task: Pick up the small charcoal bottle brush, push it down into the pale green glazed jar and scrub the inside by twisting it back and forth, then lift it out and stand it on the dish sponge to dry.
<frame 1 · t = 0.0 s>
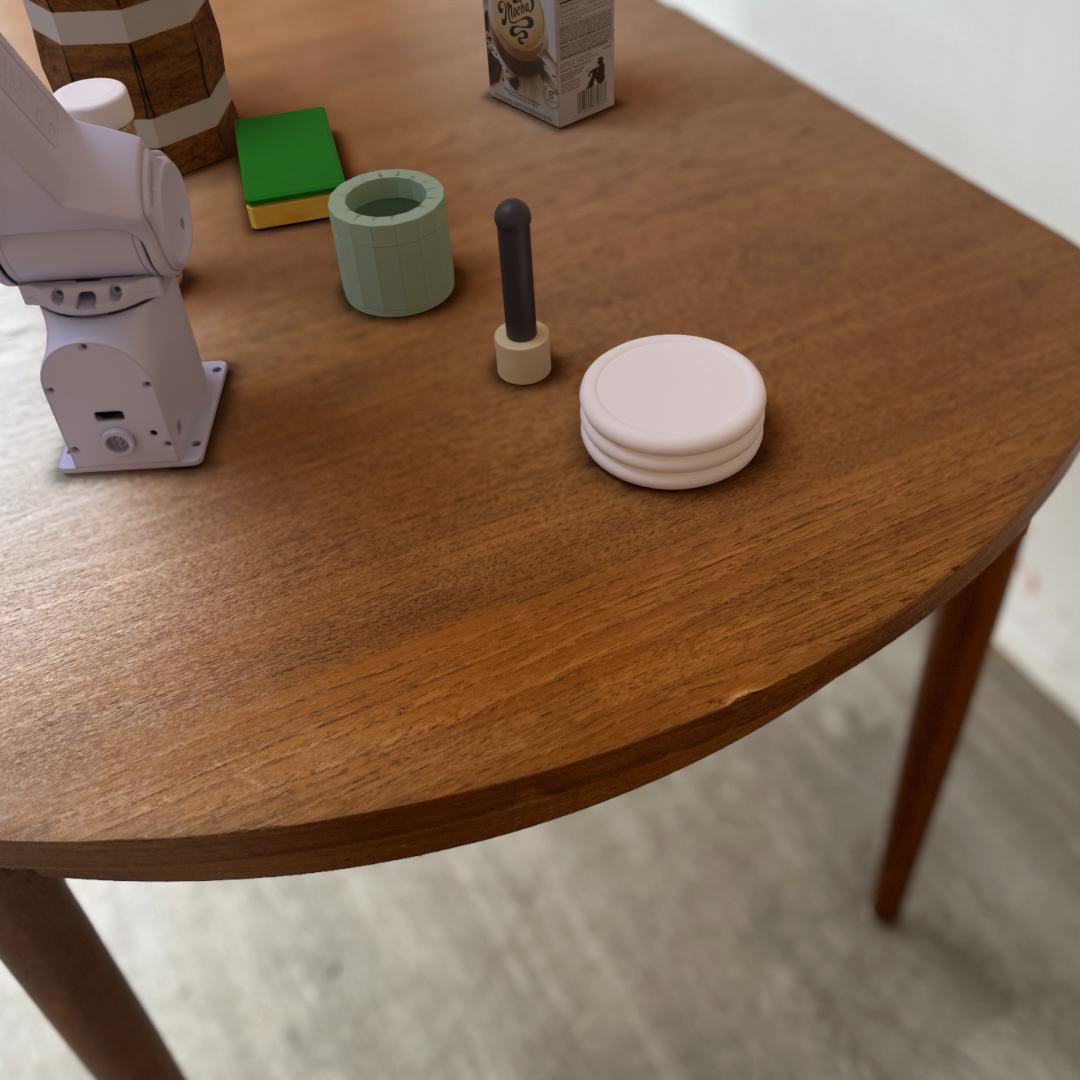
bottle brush: (524, 369, 71), on the table
jar: (400, 286, 78), on the table
sprinkles bottle: (150, 289, 80), on the table
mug: (155, 130, 98), on the table
coffee box: (552, 103, 98), on the table
dish sponge: (293, 182, 90), on the table
white stacked discs: (670, 437, 66), on the table
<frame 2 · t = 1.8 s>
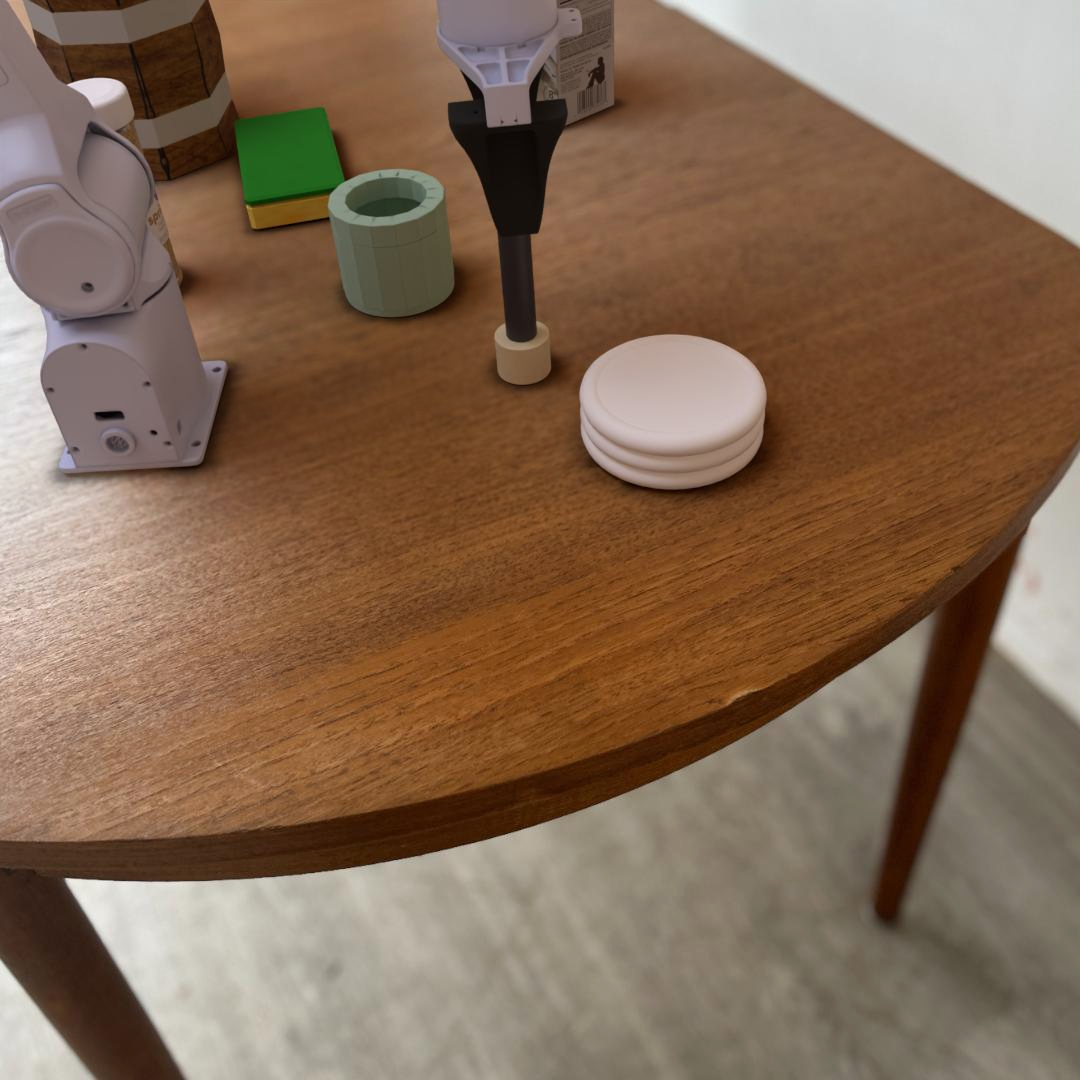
hand: (515, 196, 64), 11 cm above the table, tool pointing down, fingers open, 7 cm apart
nothing on the table moved.
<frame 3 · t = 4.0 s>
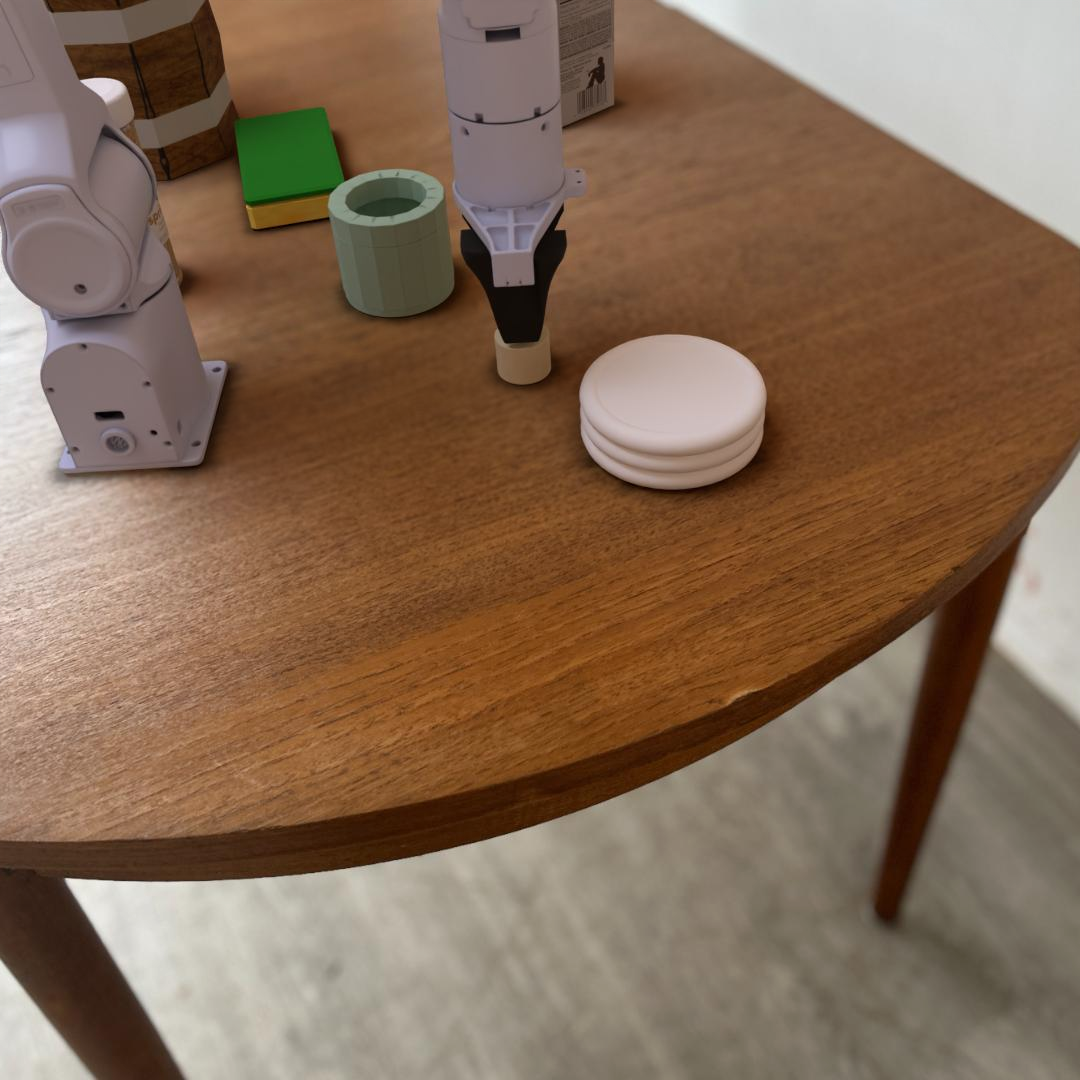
hand: (521, 328, 69), 3 cm above the table, tool pointing down, fingers closed on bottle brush, 2 cm apart
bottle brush: (524, 368, 71), on the table, touching gripper
everything else where it was.
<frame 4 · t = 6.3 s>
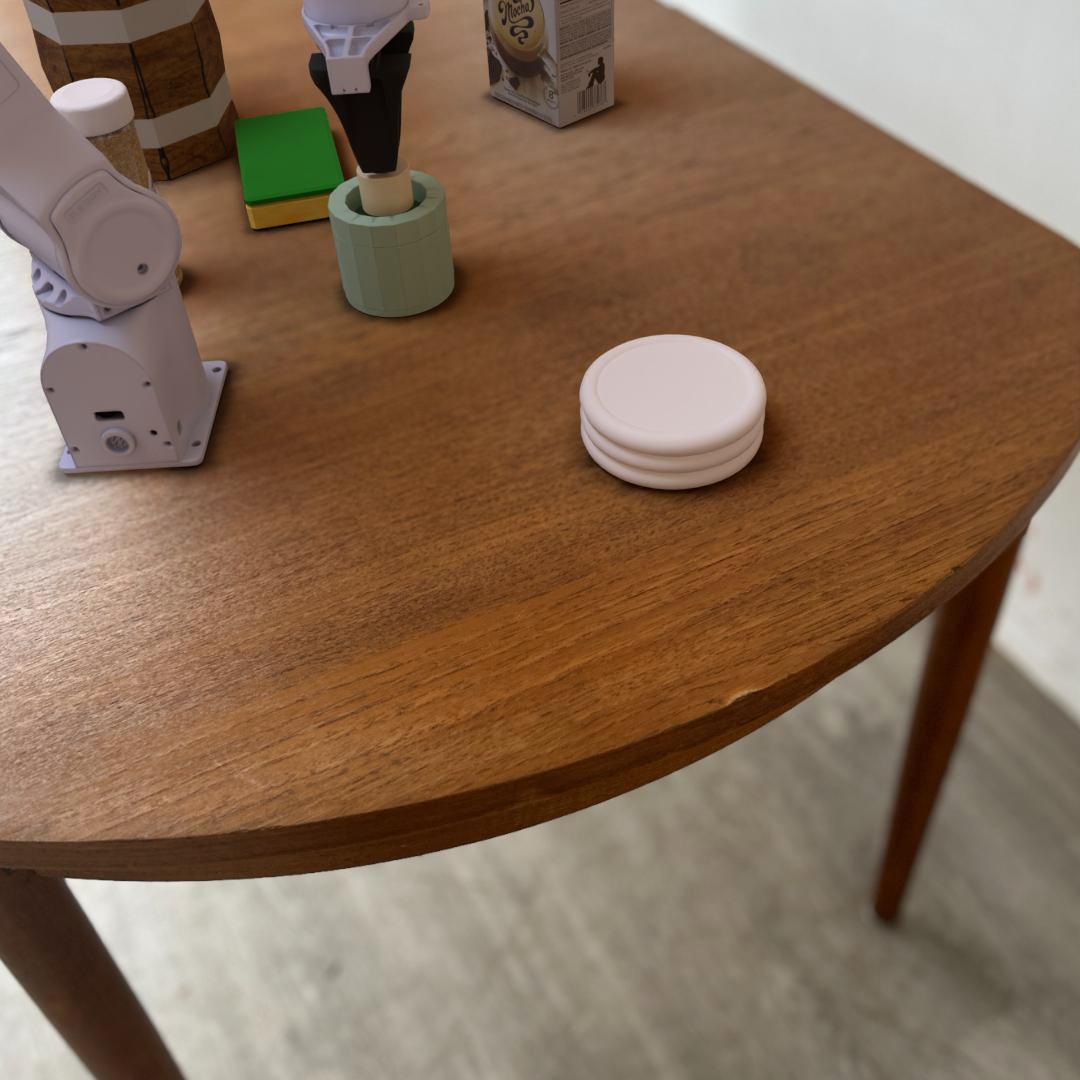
hand: (380, 160, 72), 9 cm above the table, tool pointing down, fingers closed on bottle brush
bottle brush: (388, 204, 74), point 6 cm above the table, touching gripper
everything else where it was.
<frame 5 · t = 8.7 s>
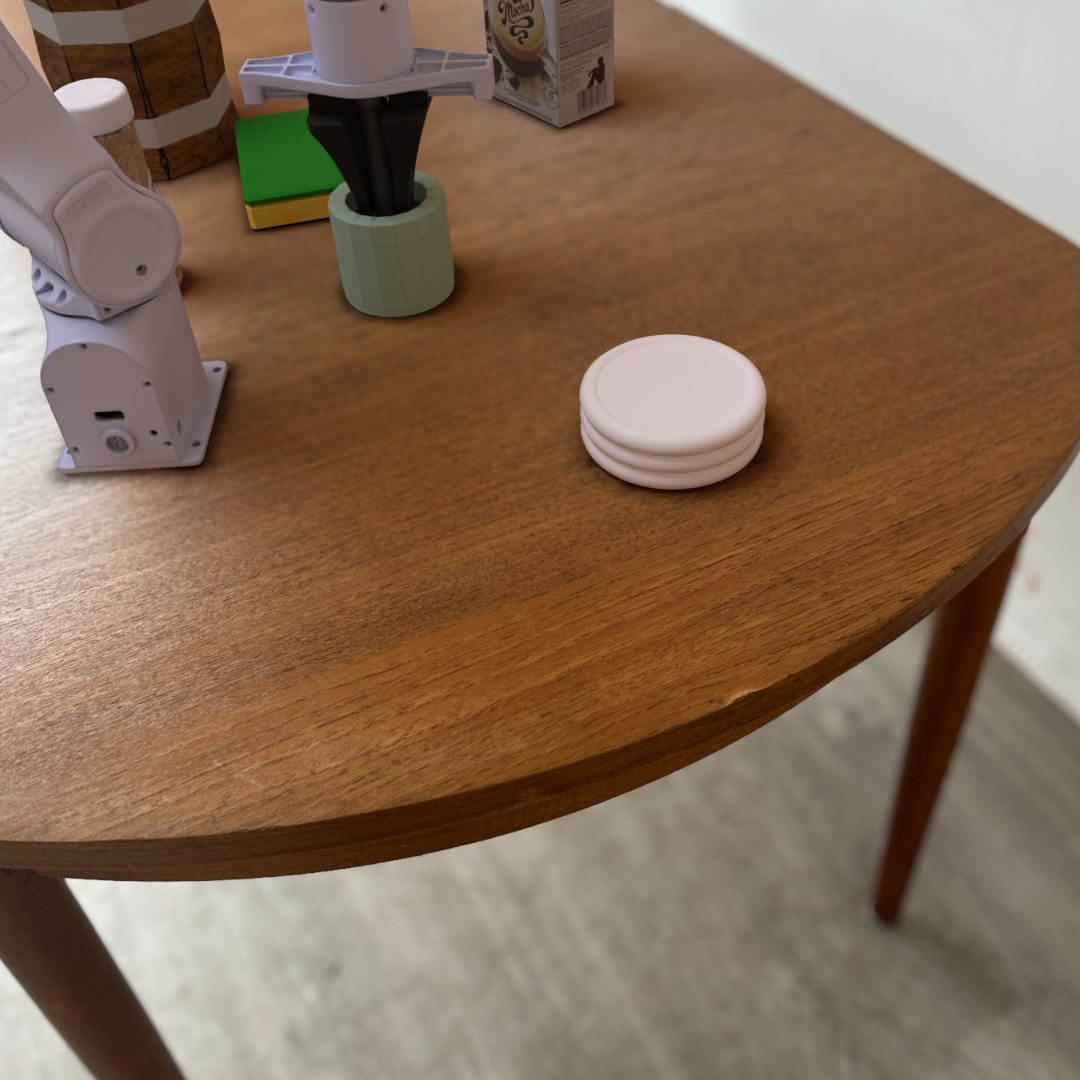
hand: (388, 209, 75), 6 cm above the table, tool pointing down, fingers closed on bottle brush, 2 cm apart
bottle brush: (394, 250, 77), point 3 cm above the table, touching gripper
everything else where it was.
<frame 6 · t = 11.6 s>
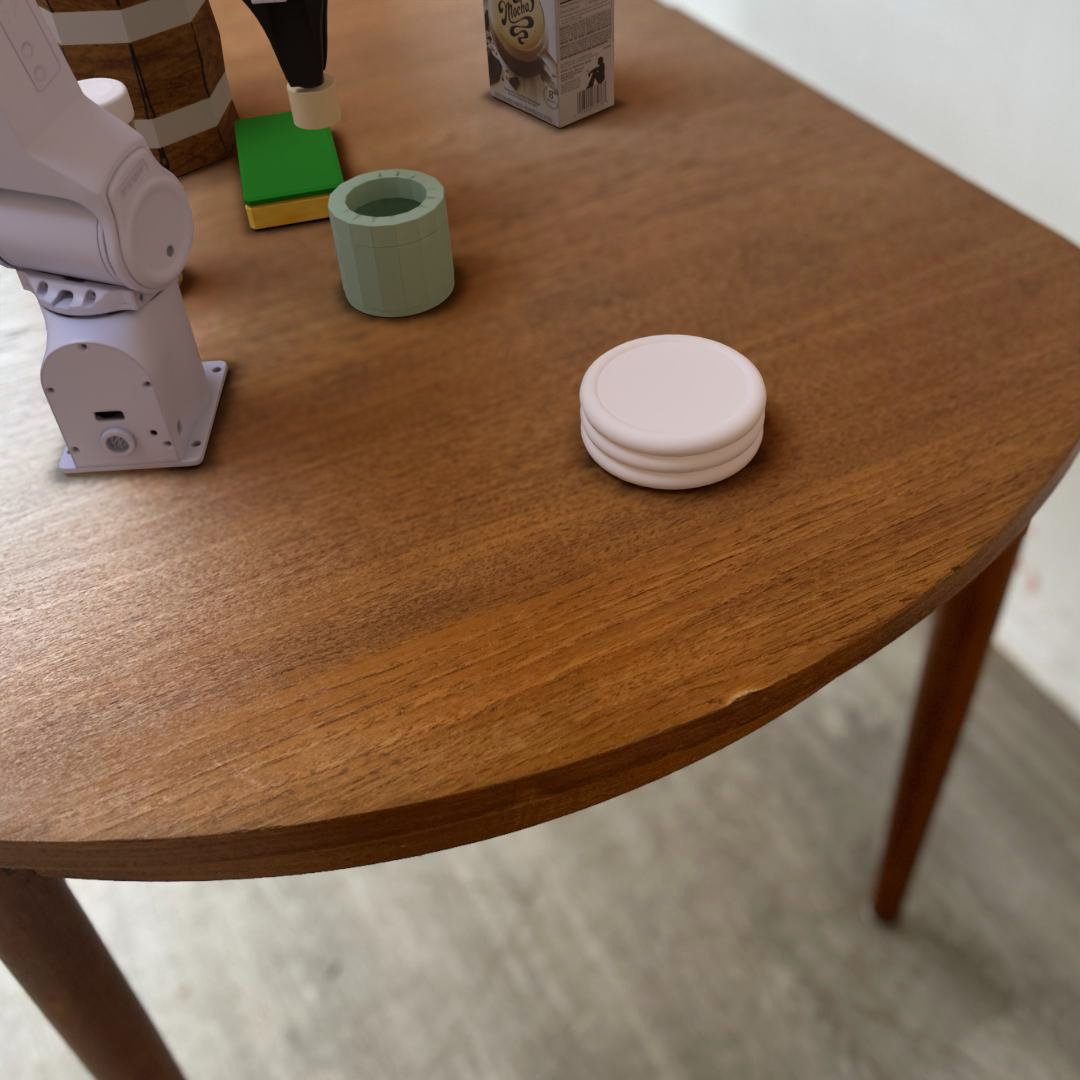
hand: (308, 76, 78), 10 cm above the table, tool pointing down, fingers closed on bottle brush
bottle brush: (317, 119, 80), point 8 cm above the table, touching gripper
everything else where it was.
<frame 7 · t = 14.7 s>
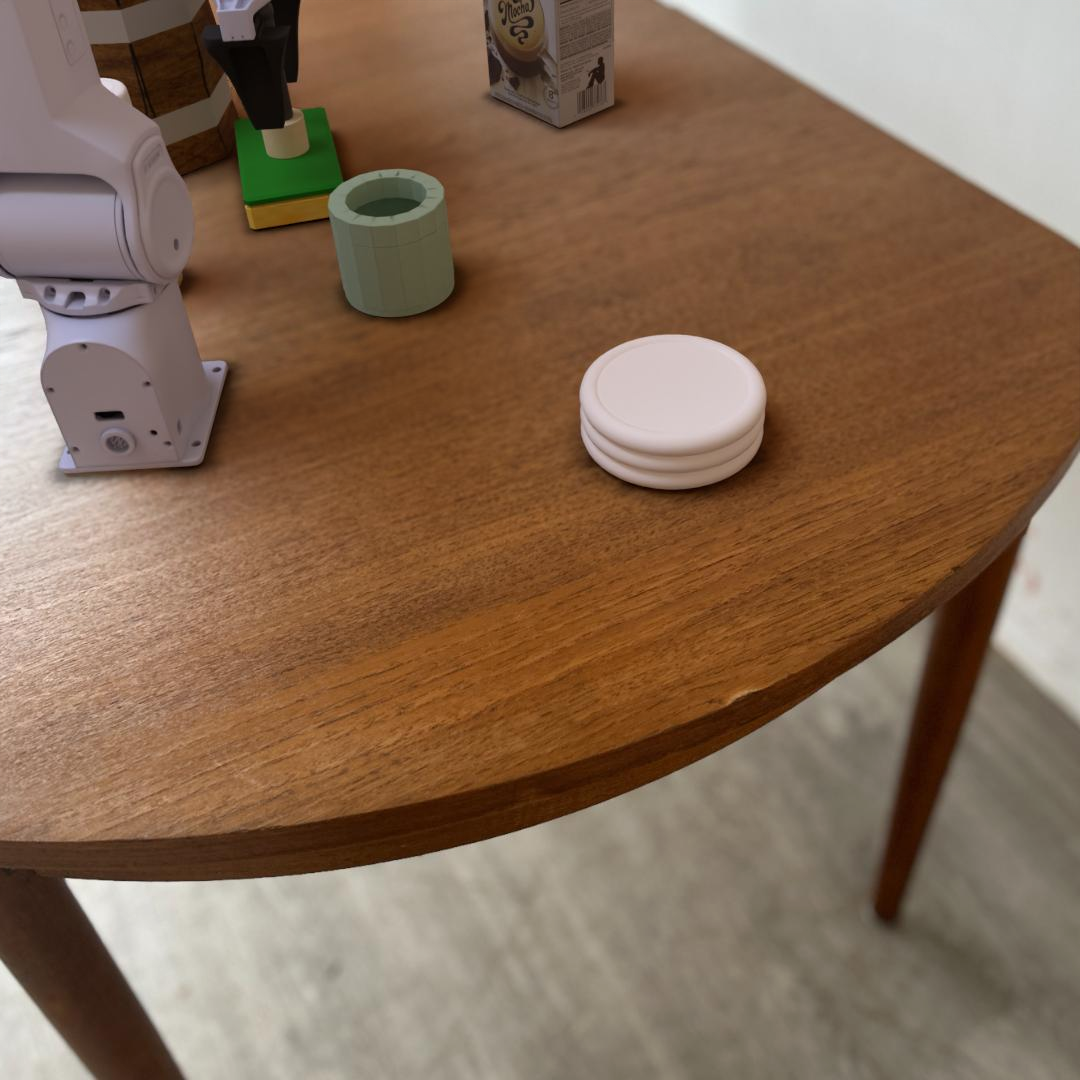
hand: (277, 103, 86), 6 cm above the table, tool pointing down, fingers open, 7 cm apart
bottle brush: (288, 149, 88), point 2 cm above the table, touching dish sponge
dish sponge: (293, 182, 90), on the table, touching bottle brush
everything else where it was.
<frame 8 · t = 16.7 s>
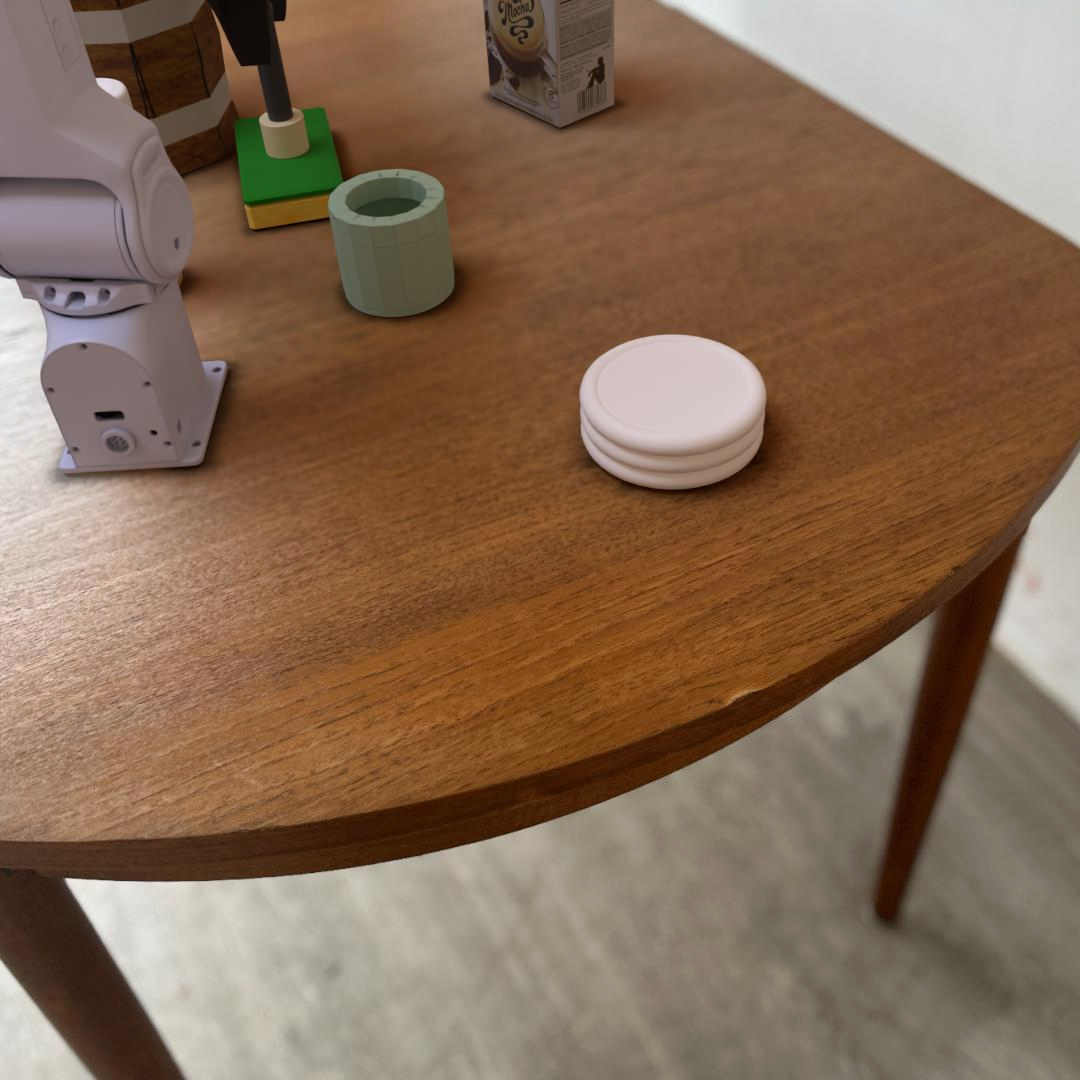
hand: (263, 41, 83), 10 cm above the table, tool pointing down, fingers open, 7 cm apart
nothing on the table moved.
at the end: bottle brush inside the target area in the dish sponge (0.1 cm from its centre), point 2.6 cm above the dish sponge's base; the gripper is holding nothing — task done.
